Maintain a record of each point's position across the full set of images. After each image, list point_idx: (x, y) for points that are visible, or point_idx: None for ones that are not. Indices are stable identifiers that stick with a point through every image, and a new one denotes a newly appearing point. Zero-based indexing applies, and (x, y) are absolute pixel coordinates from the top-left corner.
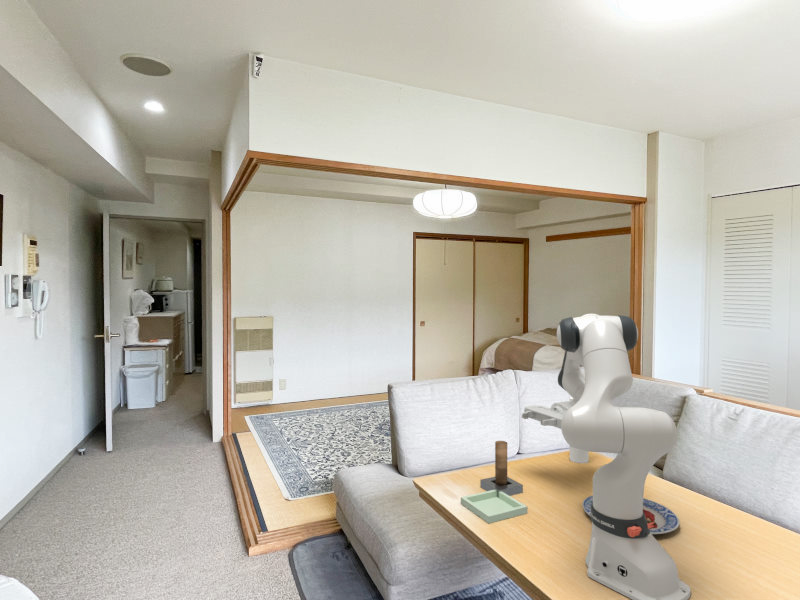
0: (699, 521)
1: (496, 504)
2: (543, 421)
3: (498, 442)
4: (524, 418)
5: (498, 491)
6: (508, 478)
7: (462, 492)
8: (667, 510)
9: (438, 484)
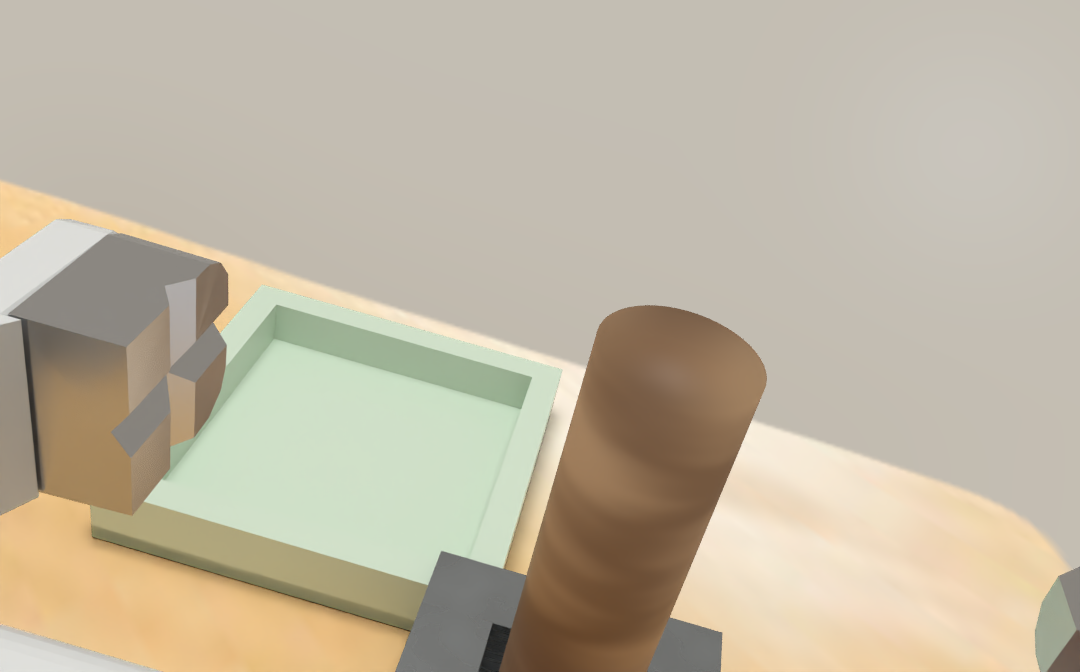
0: None
1: (370, 502)
2: (82, 232)
3: (701, 340)
4: (1047, 618)
5: (443, 558)
6: None
7: (706, 545)
8: None
9: (913, 545)
